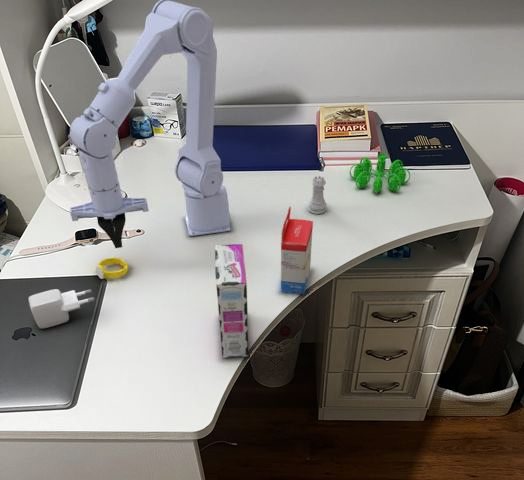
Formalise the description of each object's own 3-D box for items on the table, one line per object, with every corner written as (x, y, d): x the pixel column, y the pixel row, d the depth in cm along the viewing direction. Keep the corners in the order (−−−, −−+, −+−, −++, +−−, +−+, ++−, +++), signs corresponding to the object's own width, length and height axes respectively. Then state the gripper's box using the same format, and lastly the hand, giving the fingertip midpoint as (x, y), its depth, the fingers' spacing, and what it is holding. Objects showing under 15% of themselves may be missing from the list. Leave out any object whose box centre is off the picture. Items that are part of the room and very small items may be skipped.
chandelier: (345, 193, 133) (348, 167, 128) (352, 165, 143) (355, 140, 138) (407, 199, 130) (412, 173, 125) (409, 170, 140) (414, 144, 135)
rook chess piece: (304, 212, 127) (306, 181, 121) (311, 203, 130) (312, 172, 124) (323, 216, 125) (325, 184, 120) (328, 206, 128) (331, 175, 123)
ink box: (304, 295, 105) (307, 231, 95) (280, 292, 106) (280, 228, 96) (310, 269, 111) (314, 206, 101) (287, 267, 112) (288, 204, 101)
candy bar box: (250, 357, 94) (247, 283, 82) (222, 359, 94) (214, 285, 82) (246, 315, 102) (243, 242, 90) (220, 317, 101) (213, 243, 90)
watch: (132, 263, 110) (107, 273, 107) (133, 274, 112) (109, 284, 109) (115, 252, 113) (90, 261, 110) (116, 263, 115) (92, 272, 112)
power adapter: (94, 300, 105) (86, 276, 101) (99, 315, 102) (92, 291, 98) (36, 317, 102) (25, 293, 98) (39, 333, 99) (29, 309, 95)
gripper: (62, 199, 96) (82, 261, 106) (144, 189, 98) (155, 251, 108) (64, 180, 101) (82, 241, 111) (141, 171, 103) (152, 232, 113)
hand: (118, 245), depth 110 cm, fingers closed
